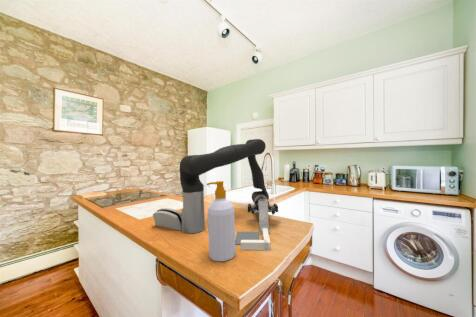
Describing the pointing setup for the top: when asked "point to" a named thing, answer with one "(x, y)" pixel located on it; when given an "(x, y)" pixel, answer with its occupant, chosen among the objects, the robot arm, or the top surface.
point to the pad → (246, 236)
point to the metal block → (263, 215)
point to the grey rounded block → (168, 218)
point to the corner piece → (257, 242)
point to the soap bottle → (221, 226)
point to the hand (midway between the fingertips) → (263, 212)
